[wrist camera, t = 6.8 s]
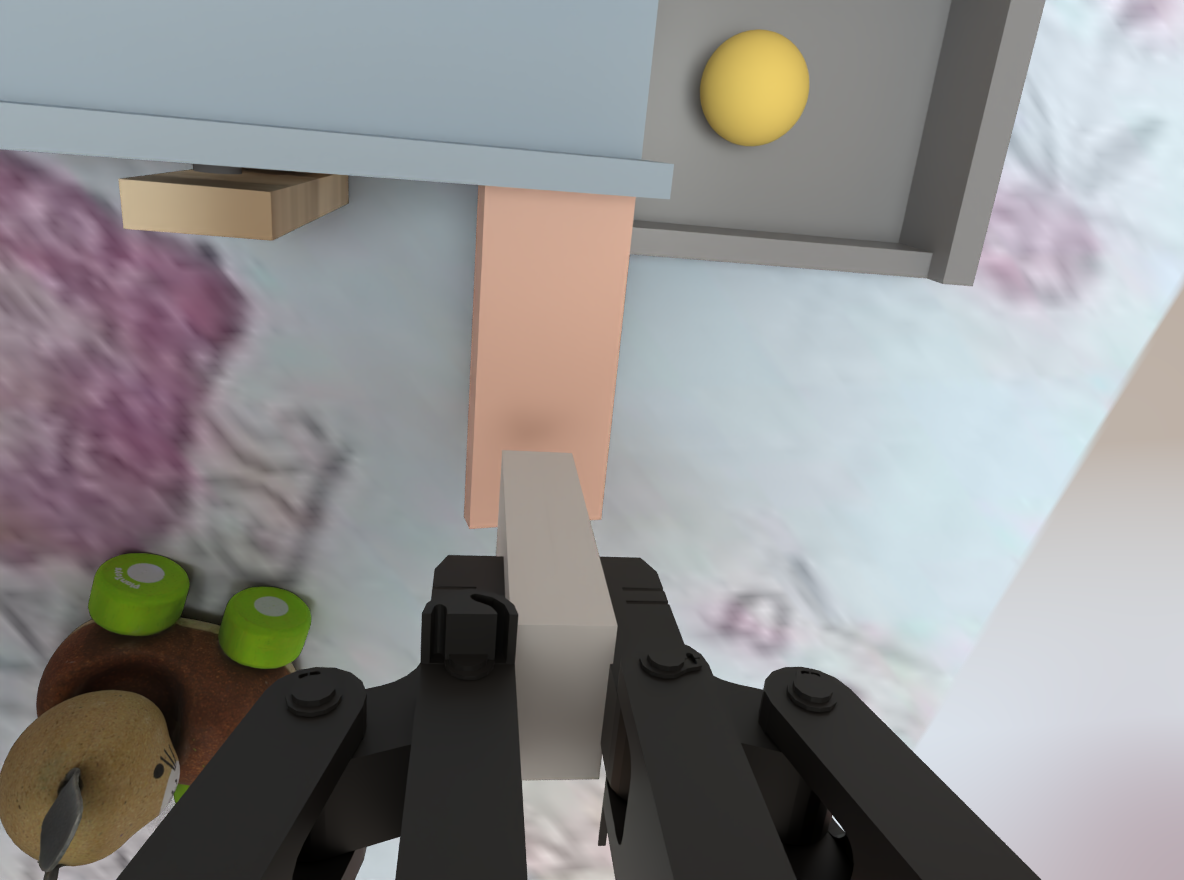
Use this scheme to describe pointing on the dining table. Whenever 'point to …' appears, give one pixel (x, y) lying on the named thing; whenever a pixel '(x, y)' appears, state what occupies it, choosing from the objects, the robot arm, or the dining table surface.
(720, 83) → the ball
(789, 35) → the tray
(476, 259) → the lever
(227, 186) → the fulcrum
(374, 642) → the dining table surface
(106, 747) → the toy car
